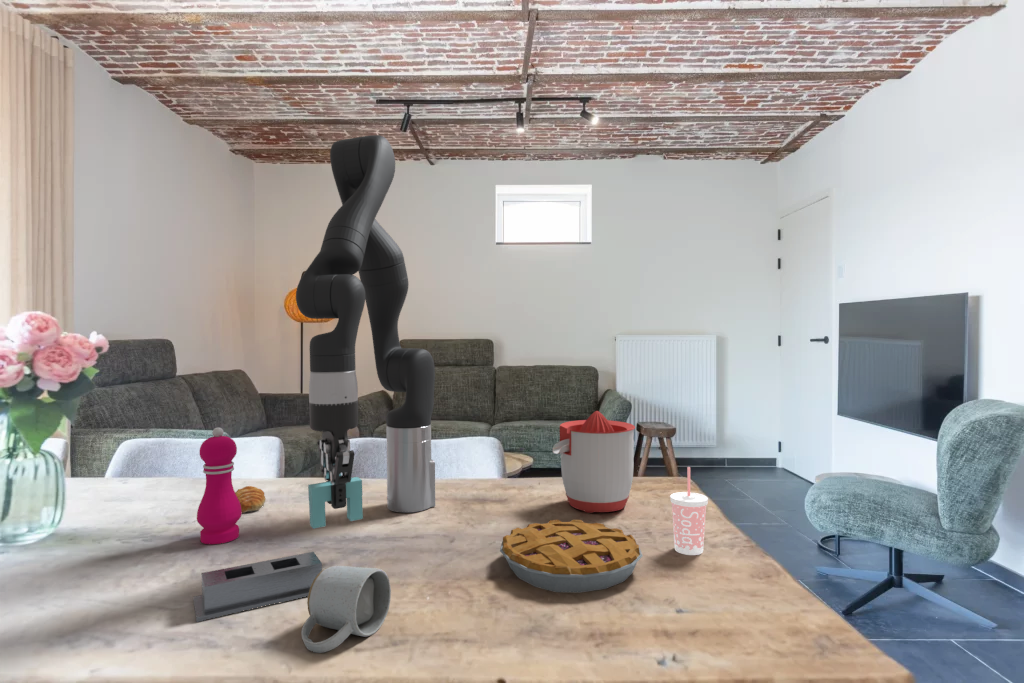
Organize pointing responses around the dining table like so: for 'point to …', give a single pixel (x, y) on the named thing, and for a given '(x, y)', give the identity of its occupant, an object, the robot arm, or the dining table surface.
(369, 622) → the ceramic mug
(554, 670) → the dining table surface
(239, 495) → the pastry
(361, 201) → the robot arm
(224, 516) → the pepper mill
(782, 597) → the dining table surface
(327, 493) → the clip
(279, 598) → the grey hollow block
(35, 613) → the dining table surface
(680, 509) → the beverage cup
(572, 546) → the pie
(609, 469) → the citrus juicer
